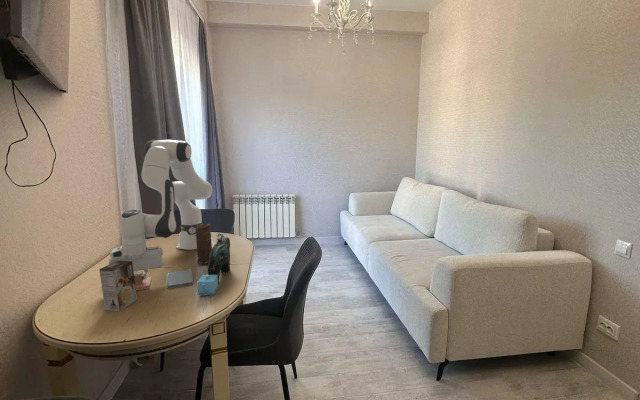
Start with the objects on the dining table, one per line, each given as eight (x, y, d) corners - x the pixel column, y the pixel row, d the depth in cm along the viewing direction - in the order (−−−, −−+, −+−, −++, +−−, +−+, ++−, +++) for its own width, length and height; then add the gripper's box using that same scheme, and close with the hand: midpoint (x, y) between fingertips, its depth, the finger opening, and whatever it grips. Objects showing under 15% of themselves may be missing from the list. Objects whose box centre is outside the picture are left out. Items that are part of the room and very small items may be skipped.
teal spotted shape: (222, 269, 160) (219, 229, 156) (235, 269, 159) (233, 229, 156) (205, 286, 140) (202, 241, 137) (220, 287, 140) (217, 241, 136)
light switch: (131, 282, 145) (130, 271, 144) (151, 279, 148) (150, 268, 147) (127, 291, 136) (126, 279, 135) (149, 288, 139) (148, 276, 138)
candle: (208, 266, 164) (205, 226, 161) (194, 265, 165) (191, 226, 162) (215, 260, 171) (213, 223, 168) (202, 259, 173) (200, 222, 169)
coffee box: (123, 298, 130) (118, 259, 127) (137, 300, 128) (133, 260, 126) (104, 310, 121) (98, 268, 118) (119, 311, 120) (114, 269, 117)
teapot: (212, 300, 128) (210, 282, 126) (196, 301, 127) (194, 283, 126) (219, 287, 139) (218, 270, 138) (204, 288, 139) (203, 271, 138)
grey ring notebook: (167, 275, 153) (167, 272, 153) (192, 271, 157) (192, 269, 157) (165, 288, 138) (165, 286, 138) (192, 284, 142) (192, 282, 142)
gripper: (162, 243, 145) (165, 273, 148) (108, 249, 138) (112, 281, 140) (161, 248, 140) (164, 278, 142) (105, 254, 132) (109, 287, 134)
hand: (138, 280), depth 141 cm, fingers closed on light switch, 3 cm apart
